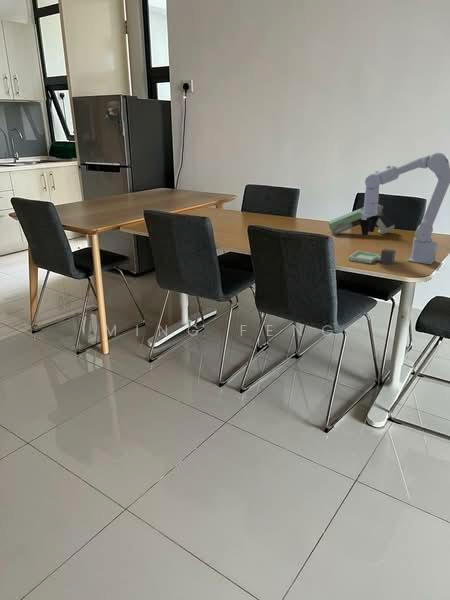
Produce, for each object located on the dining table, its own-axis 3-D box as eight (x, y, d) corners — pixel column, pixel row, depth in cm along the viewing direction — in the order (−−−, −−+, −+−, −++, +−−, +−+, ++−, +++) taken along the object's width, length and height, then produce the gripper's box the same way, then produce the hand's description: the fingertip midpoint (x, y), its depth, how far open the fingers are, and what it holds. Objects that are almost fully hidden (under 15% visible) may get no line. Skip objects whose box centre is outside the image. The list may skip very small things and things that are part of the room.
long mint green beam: (396, 229, 238) (386, 194, 231) (339, 252, 242) (327, 218, 235) (392, 226, 245) (382, 192, 238) (335, 249, 249) (324, 215, 242)
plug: (393, 262, 192) (395, 250, 190) (391, 264, 189) (393, 252, 187) (378, 260, 195) (379, 248, 193) (375, 262, 193) (377, 249, 191)
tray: (379, 258, 199) (379, 254, 198) (371, 264, 190) (371, 260, 190) (357, 254, 204) (357, 250, 203) (348, 260, 196) (348, 256, 195)
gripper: (367, 199, 203) (364, 229, 208) (355, 204, 192) (353, 235, 197) (383, 200, 199) (380, 231, 204) (372, 205, 188) (368, 237, 193)
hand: (367, 233), depth 200 cm, fingers open, 7 cm apart
